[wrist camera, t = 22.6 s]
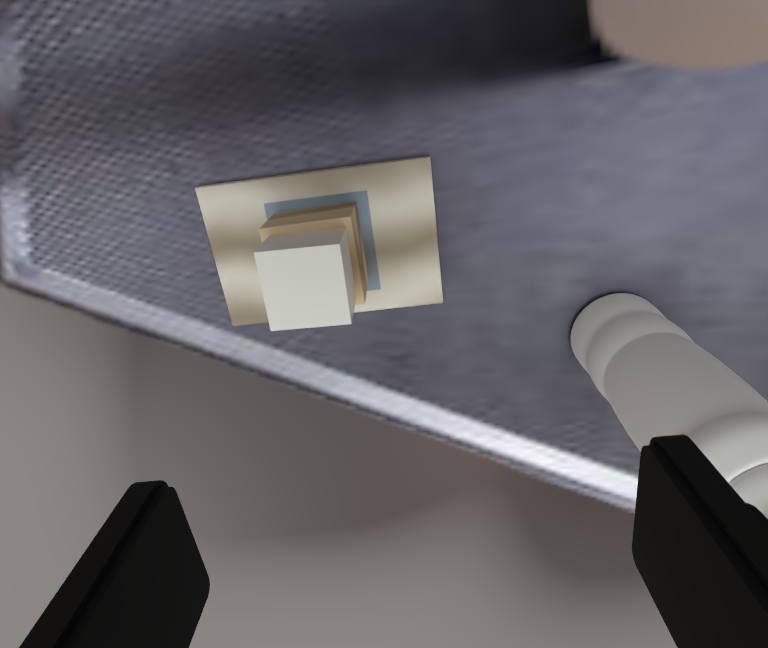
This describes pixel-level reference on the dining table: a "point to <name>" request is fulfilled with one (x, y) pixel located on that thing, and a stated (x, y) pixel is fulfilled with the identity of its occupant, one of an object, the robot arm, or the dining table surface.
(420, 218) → the board
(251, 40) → the dining table surface
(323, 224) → the oak block
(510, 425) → the dining table surface
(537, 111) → the dining table surface
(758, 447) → the water bottle
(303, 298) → the grey block
